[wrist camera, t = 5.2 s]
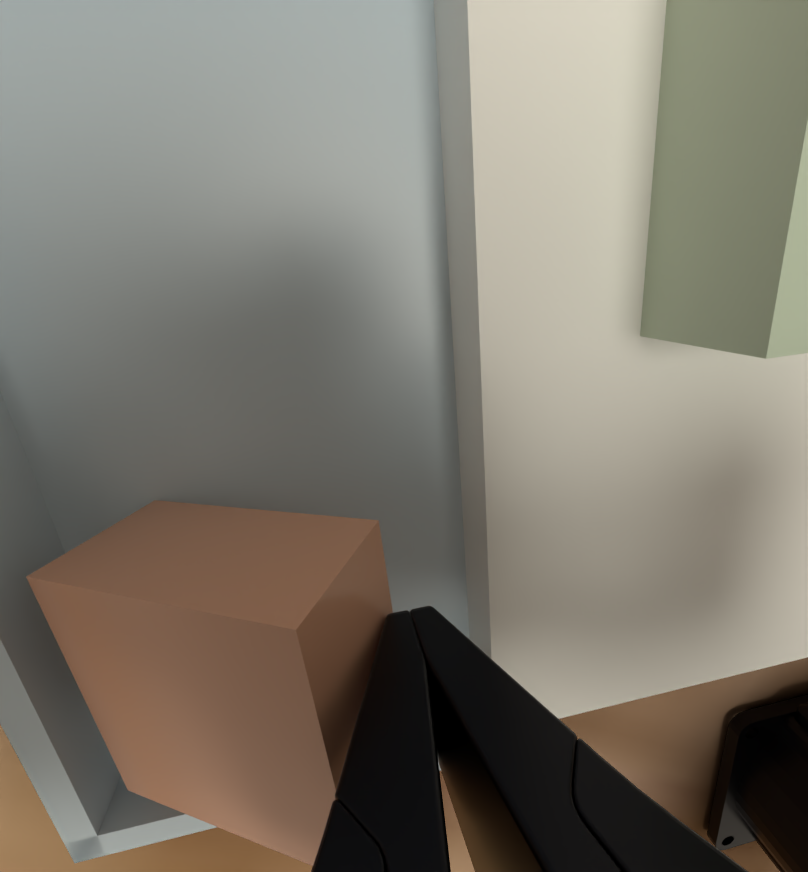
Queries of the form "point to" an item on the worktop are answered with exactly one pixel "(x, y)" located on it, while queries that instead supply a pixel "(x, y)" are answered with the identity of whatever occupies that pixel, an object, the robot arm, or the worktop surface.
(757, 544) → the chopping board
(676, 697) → the worktop surface
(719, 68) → the sage tile
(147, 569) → the terracotta tile
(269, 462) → the tray
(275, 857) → the worktop surface
